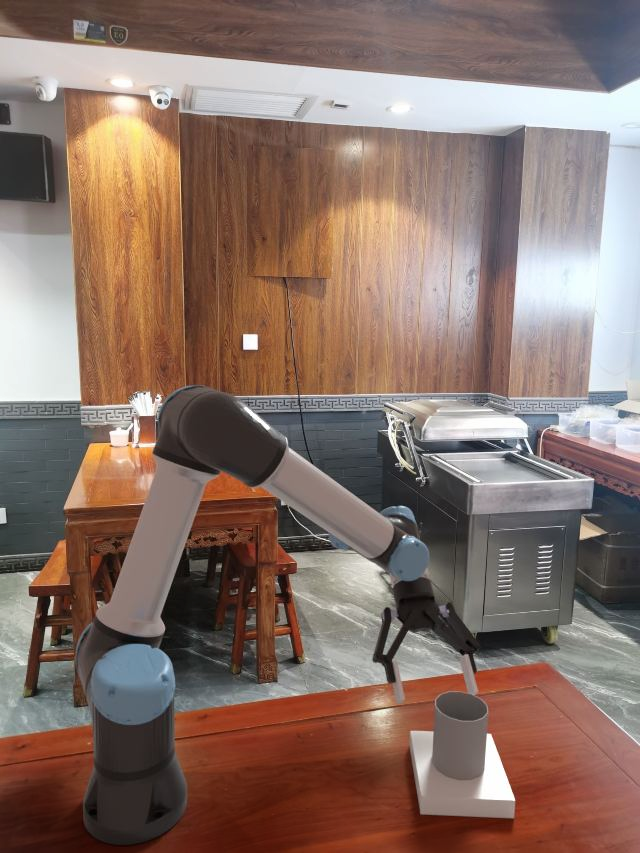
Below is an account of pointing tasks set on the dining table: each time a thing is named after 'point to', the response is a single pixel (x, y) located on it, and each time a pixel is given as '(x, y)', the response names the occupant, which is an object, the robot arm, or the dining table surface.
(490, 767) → the raised board
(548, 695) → the dining table surface
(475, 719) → the cup
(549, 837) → the dining table surface
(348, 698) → the dining table surface
